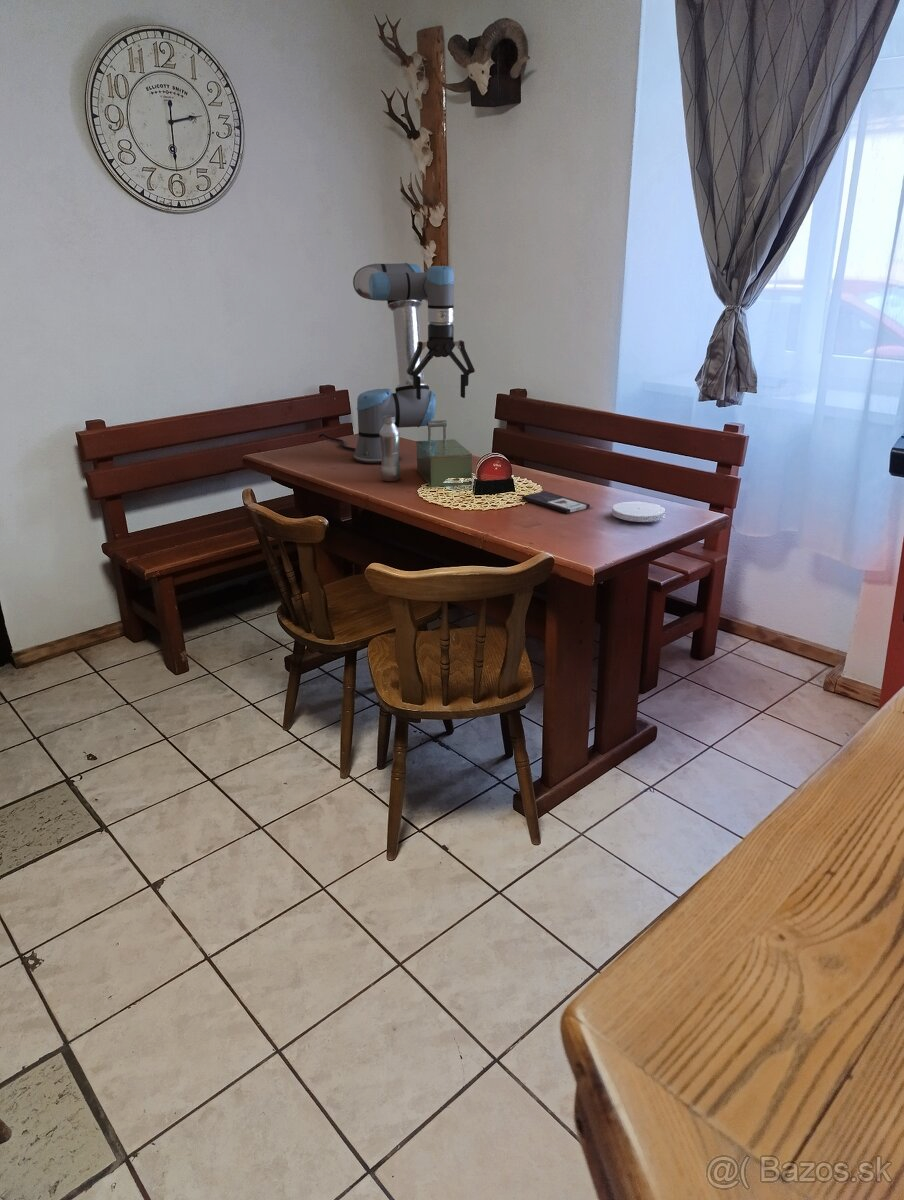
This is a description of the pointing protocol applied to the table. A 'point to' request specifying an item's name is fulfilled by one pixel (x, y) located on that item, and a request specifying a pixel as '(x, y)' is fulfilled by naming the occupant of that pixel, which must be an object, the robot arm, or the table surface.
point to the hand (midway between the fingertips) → (440, 398)
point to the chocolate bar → (555, 502)
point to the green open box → (443, 469)
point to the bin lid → (442, 444)
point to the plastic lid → (638, 511)
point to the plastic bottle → (390, 449)
